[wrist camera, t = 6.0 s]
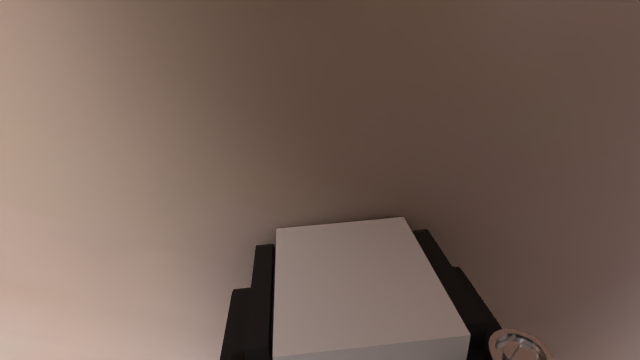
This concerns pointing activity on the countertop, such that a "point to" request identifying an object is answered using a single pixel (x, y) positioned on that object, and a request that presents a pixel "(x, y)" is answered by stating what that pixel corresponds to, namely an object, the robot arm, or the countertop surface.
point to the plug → (361, 296)
